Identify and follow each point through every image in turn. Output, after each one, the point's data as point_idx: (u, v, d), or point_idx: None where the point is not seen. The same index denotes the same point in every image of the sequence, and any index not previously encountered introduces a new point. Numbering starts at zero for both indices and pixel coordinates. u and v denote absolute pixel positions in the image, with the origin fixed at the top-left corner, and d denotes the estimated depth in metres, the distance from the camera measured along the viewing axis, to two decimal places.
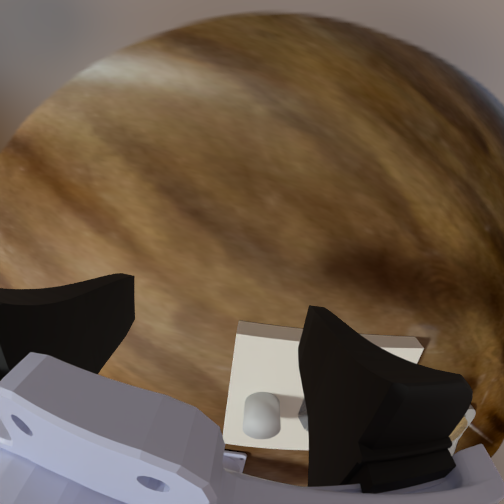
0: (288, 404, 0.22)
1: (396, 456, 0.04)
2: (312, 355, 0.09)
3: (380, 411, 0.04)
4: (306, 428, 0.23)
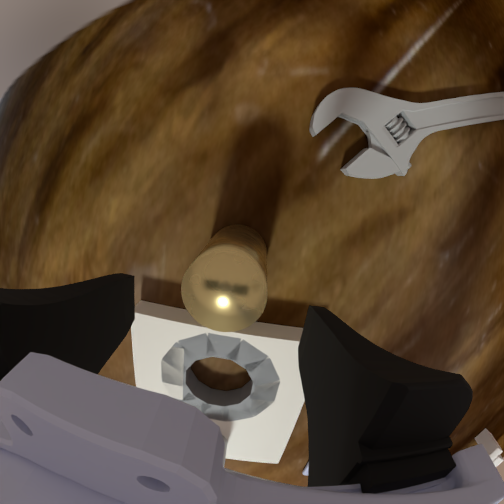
0: None
1: (396, 456, 0.04)
2: (312, 355, 0.09)
3: (380, 411, 0.04)
4: (251, 415, 0.21)
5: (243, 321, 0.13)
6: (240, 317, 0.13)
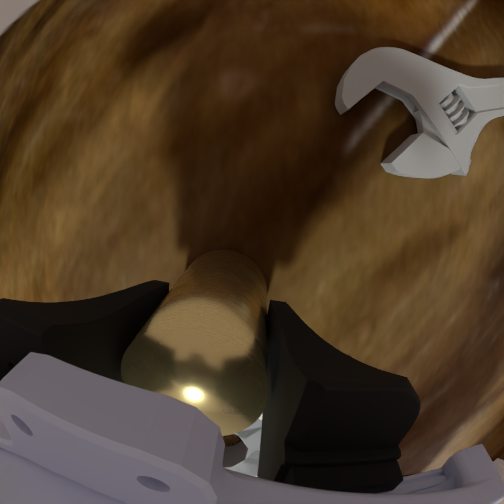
0: None
1: (327, 463, 0.04)
2: (268, 350, 0.09)
3: (300, 410, 0.04)
4: None
5: (227, 427, 0.07)
6: (222, 422, 0.07)
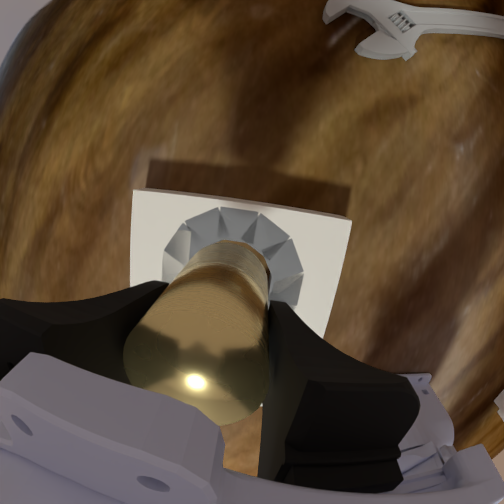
0: None
1: (327, 463, 0.04)
2: None
3: (300, 410, 0.04)
4: None
5: (229, 415, 0.07)
6: (223, 410, 0.07)
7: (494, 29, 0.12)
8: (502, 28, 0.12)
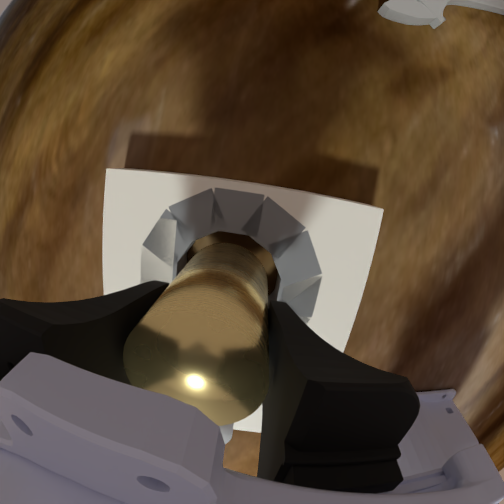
0: None
1: (327, 462, 0.04)
2: None
3: (300, 410, 0.04)
4: None
5: (229, 415, 0.07)
6: (223, 410, 0.07)
7: None
8: None
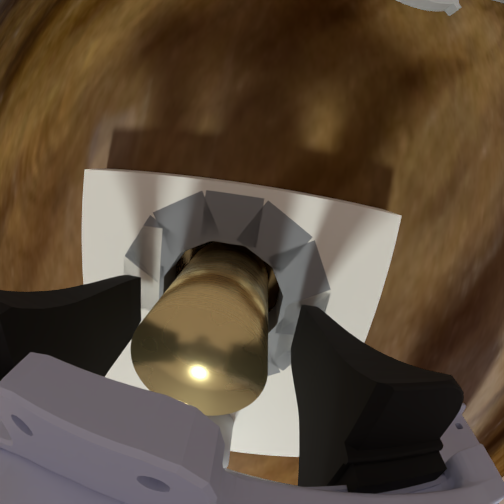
0: None
1: (384, 458, 0.04)
2: (303, 355, 0.09)
3: (366, 412, 0.04)
4: (277, 369, 0.13)
5: (230, 405, 0.08)
6: (224, 399, 0.08)
7: None
8: None
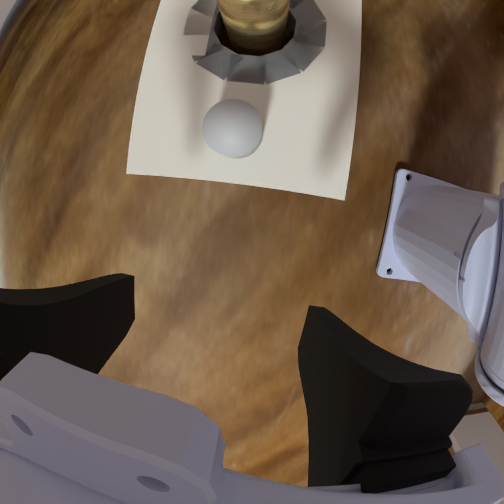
0: (239, 99, 0.16)
1: (396, 456, 0.04)
2: (312, 355, 0.09)
3: (380, 411, 0.04)
4: (298, 70, 0.15)
5: None
6: None
7: None
8: None
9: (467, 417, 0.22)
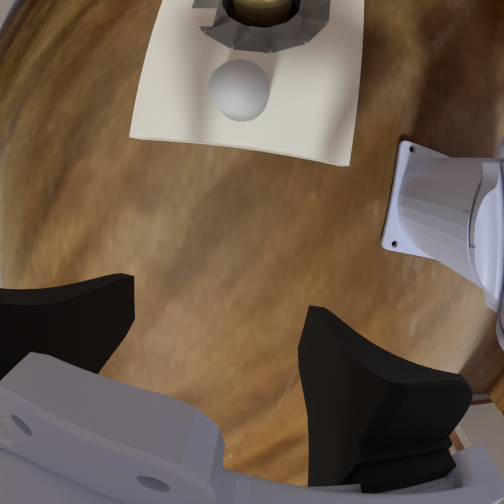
0: None
1: (396, 456, 0.04)
2: (312, 355, 0.09)
3: (380, 411, 0.04)
4: (303, 41, 0.14)
5: None
6: None
7: None
8: None
9: (472, 407, 0.22)
